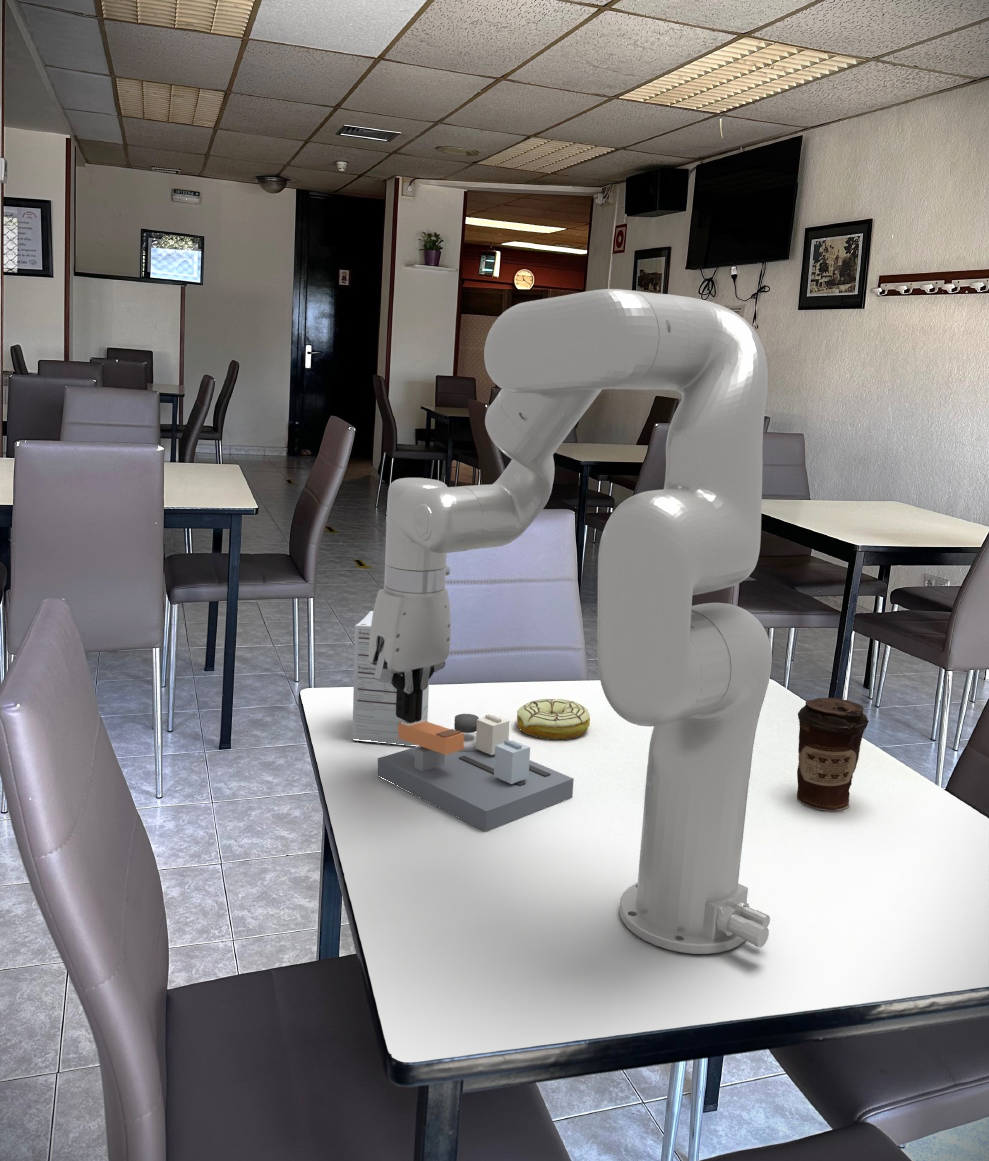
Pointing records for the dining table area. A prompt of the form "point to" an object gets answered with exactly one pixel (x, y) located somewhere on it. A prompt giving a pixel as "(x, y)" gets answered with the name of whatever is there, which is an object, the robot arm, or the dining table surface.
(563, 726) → the decorated donut
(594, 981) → the dining table surface
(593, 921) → the dining table surface
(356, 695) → the supplement box
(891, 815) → the dining table surface
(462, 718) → the push button
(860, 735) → the coffee cup
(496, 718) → the ivory knob
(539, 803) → the console
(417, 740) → the rocker switch
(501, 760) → the slate knob
